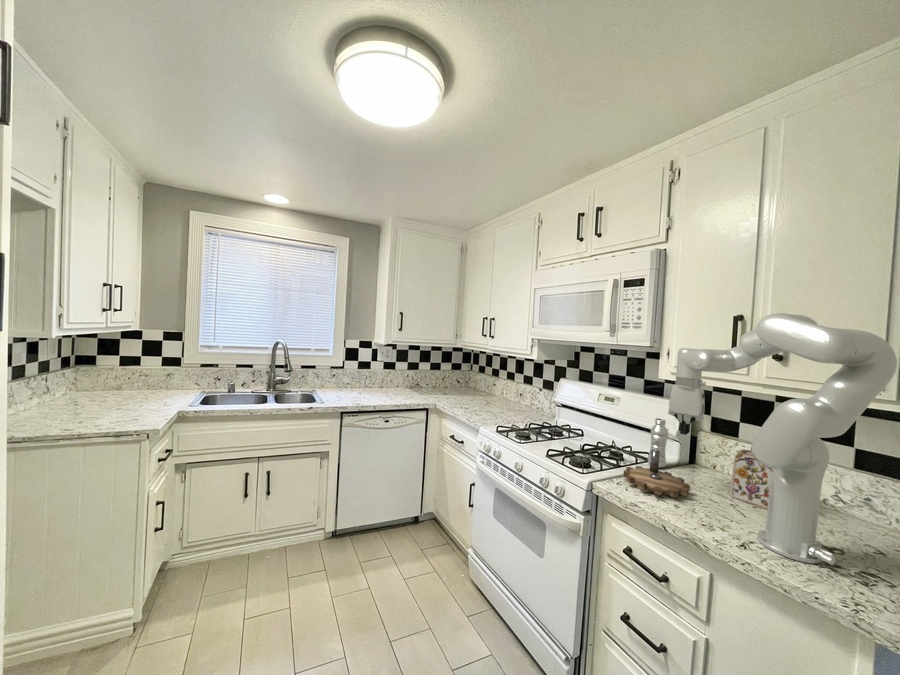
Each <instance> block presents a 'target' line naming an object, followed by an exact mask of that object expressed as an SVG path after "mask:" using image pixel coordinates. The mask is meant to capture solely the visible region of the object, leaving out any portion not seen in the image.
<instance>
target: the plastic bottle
mask: <svg viewBox="0 0 900 675" xmlns="http://www.w3.org/2000/svg"><path fill="white" fill-rule="evenodd" d="M666 422H667V421H666V419H663V418H657V417H656V418H655V420H654V423H655V424H654V425H653V426H652V427H651V429H650V449H649V453H648V455H647V463H648V465H650V461H651V450H652V449H655V450H659V451H660V458H659V468H664V467H665V466H666V463H667V459H666V458H667V457H666V449H667V448H666V447H667V443H668V438H669V430H668V429H667V427H666V424H667V423H666Z"/></svg>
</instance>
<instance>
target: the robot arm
mask: <svg viewBox="0 0 900 675" xmlns="http://www.w3.org/2000/svg"><path fill="white" fill-rule="evenodd" d="M739 343H740V345H737V346H734V347H731V348H728V349H713V348H712V349H708V348H700V349H699V348H690V347H688V348H687V347H683V348H680V349H679V350H678V351H677V357H676V360H677V361H676V369H675V370H676V372H675V384H673V385H672V388H671V392H670V395H669V401H668V402H669V403H668V412H667V414H668V415H670V416H673V417H674V418H675V419H676V420H677V422H679V423H678V431H679V434H680V435H684V436H686V435H688V434H690V432H691V424H692V423H693V422H697V421H699V422H700V421H703V420H704V414H705V390H704V388H702V387H703V386H704V387H705V386H707V382H706V381H703V379H702V374H703V372H710V373H711V372H712V373H731V372H735V371H738V370H742V369H745V368H749V367H751V366H753V365H756V364H757V363H758V362H760V361H762V359H765V358H768V357H772V356H775V355H777V354H781V353H784V352H787V353H790V354H793V355H795V356H798V357H801V358H803V359H806V360H809V361H811V362H816V363H820V364H832V365H841V367H840V368H839V369H838V370H837V371H836V372H834V373H833V374H832V375H829V377H828V378H827V379H826V380H825V381H824V382H823V384H822V385H821V386H820V388H819V389H818V390H817V391H816V392H815V393H814V394H813V395H812V396H810V397H808V398H806V397H805V398H803V397H802V398H800V397H799V398H791V399H788V400H786V401H783V402H782V403H780V404H779V405H777V406H776V407H775V409H773V411H772V412H771V413H770V415H769V416H768V418H767V419H766V420H765V421H764V423H763V424H762V426H760V428H759V430H758V431H757V432H756V434H755V436H754V437H753V439H752V441H751V448H752V452H753V455H754V457H755V458H756V459H757V461H758V462H760V463H761V464H762V465H764V466H766V467H769V468H772V469H774V470H773V473H772V477H771V484H770V492H769V502H768V510H767V513H766V524H765V530H761V531H759V532H758V533H757V540H758V541H759V542H760V543H761V544H762V545H763V546H764V547H766V548H767V549H769V550H771V551H773V552H775V553H776V554H779V555H781V556H783V557H786V558H789V559H792V560H794V561H798V562H802V563H807V564H819V563H822V562H825V563H827V564H829V565H830V566H833V565H835V563H836V558H835V554H834V553H832V552H831V551H828V550H825V549H824V548H823V547H821V543H822V542H821V541H820V540H818V539H816V538H817V529H818V521H819V520H818V519H819V509H820V500H821V493H822V486H823V481H824V477H825V473H826V472H827V468H828V465H829V463H830V452H829V448H828V445H827V444H826V443H825V441H823V440H822V439H821V438H824V439H825V438H826V439H828V438H835V437H839V436H842V435H844V434H845V433H846V432H847V431H848V430H849V429H850V428H851V427H852V425H854V423H855V422H856V421H857V420H858V419H859V418H860V417H861V415H863V413H864V412H865V410H866V409H867V408H868V407H869V406H870V405H871V403H872V402H873V401H874V399H876V398H877V397H878V396H879V395H880V393H882V391H884V389H885V388H886V387H887V385H888V384H890V382H891V381H892V380H893V377H894V375H895V374H896V371H897V366H898V359H897V358H898V357H897V355H896V352H895V351H894V349H893V347H892V346H891V345H890V344H889V342H887V341H886V340H885V339H883V338H882V337H881V336H878V335H877V334H875V333H872V332H870V331H865V330H859V329H850V328H848V329H847V328H838V327H829V326H824V325H820V324H819V323H817V321H815V320H814V319H813V318H811V317H809V316H806V315H801V314H792V313H784V312H780V313H779V312H778V313H771V314H768V315H765V316H764V317H763V318H761V319H759V321H758V323H757V325H756V328H755V329H752V330H750V331H747V332H745V333H743V334H742V335H741V337H740V342H739ZM685 416H686V419H685Z"/></svg>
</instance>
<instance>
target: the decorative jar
mask: <svg viewBox="0 0 900 675" xmlns="http://www.w3.org/2000/svg"><path fill="white" fill-rule="evenodd" d="M773 470H774V469H772V468H769V467H766V466H764V465H762V464H761V463H760V462H758V461H757V459H756V458H755V457H754V455H753V452H752V447H751V450H749V449H741V450H739V451H738V452H737V454H736V455H735V456H734V458H733V465H732V473H731V481H730V482H731V483H730V492H729V493H730V494H729V496H730V498H734V499H736V500H739V501H742V502H745V503H748V504H750V505H753V506H757V507H758V508H762V509H764V510H767V511H768V502H769V492H770V484H771V477H772V473H773Z"/></svg>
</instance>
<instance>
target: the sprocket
mask: <svg viewBox="0 0 900 675" xmlns="http://www.w3.org/2000/svg"><path fill="white" fill-rule="evenodd" d="M659 458H660V451H659V450H655V449H652V450H651V462H650V464H649V468H645V467H642V466H641V465H640V466H639V465H635V467H631V466H628V467H626V468H625V469H624V470H623V478H626V482H627V483H628V484H633V485H634V484H635V485H636V486H637V489H640V490H642V491H645V490H647V491H649V490H650V491H649V492H652V491H654V492H653V494H655V495H659V496H662V493H663V495H669V496H670V497H672V498H679V495H682V496H685V497H686V496H688V495H689V492H690V490H691V488H690V487H691V486H690V483H688V482H687V483H686V482H685V479H683V478H682V477H676V476H674V475H673V474H672V473H671V472H668V471H664V472H663V471H660V470H659V468H660V467H659Z"/></svg>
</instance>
